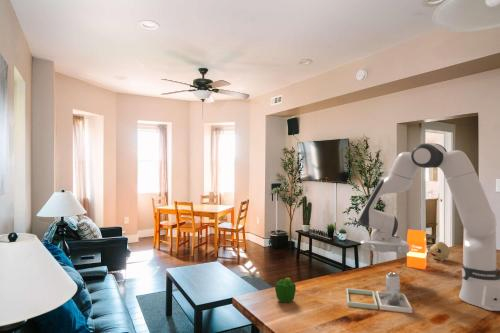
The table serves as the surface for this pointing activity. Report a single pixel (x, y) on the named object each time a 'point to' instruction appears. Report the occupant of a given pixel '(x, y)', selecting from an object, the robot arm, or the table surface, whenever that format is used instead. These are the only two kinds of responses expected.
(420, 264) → the orange juice
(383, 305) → the bin
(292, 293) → the bell pepper
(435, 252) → the toy pig
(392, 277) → the chrome tube with bumps
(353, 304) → the bin
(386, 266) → the table surface
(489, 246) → the robot arm
